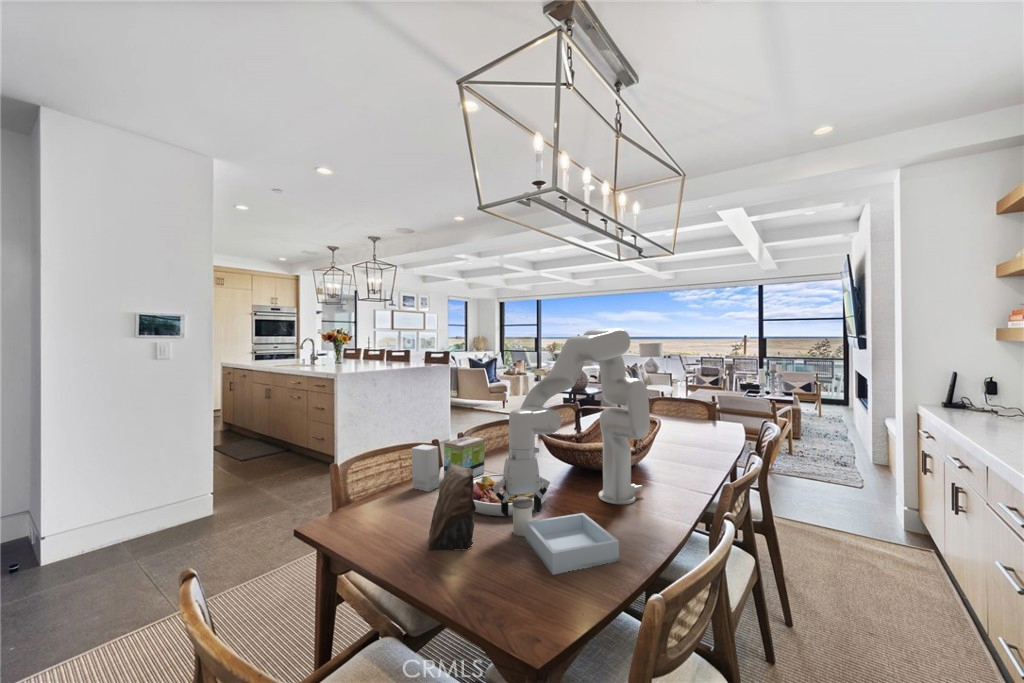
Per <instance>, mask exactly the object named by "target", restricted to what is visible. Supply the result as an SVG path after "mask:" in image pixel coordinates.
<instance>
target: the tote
mask: <svg viewBox="0 0 1024 683" xmlns="http://www.w3.org/2000/svg"><path fill="white" fill-rule="evenodd" d="M525 531H526V536H525V542H526V543H527V544H528V545H529V547H530V548H531V549H532V550H533V552H534V553H535V554H536V556H537V557H538V558H539V559H540V560H541V562H542V564H544V566H545V567H546V569H547V570H548V571H549V572H550V573H551V575H553V576H554V575H559V574H563V573H564V572H565V573H569V572H568V571H570V572H573V571H572V570H574V571H578V570H577V569H579V570H583V569H582V568H584V569H589V568H592V566H594V567H598V565H599V566H603V565H602V564H604V565H607V564H606V563H608V564H612V562H613V563H617V562H616V561H618V562H620V540H618V539H617V538H616V537H615V536H614V535H612V534H611V533H609V531H607V530H606V529H604V528H603V527H602V526H601V525H599V523H597V522H596V521H594V520H593V519H592V518H591V517H589V516H588V515H587V514H585V513H584V512H581V513H575V514H567V515H562V516H555V517H549V518H548V517H547V518H542V519H536V520H532V521H528V522H525ZM610 562H611V563H610ZM588 567H589V568H588Z"/></svg>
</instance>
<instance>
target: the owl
mask: <svg viewBox="0 0 1024 683" xmlns="http://www.w3.org/2000/svg"><path fill="white" fill-rule="evenodd" d="M473 478H474V477H473V470H472V469H471V468H465V467H460V466H457V465H456V464H454V463H449V466H448V469H447V471H446V474H445V477H444V476H443V479H442V482H441V485H440V487H439V492H438V497H437V500H436V504H435V507H434V510H433V514H432V517H431V518H432V519H431V523H430V529H429V531H428V541H427V542H428V549H427V551H428V552H429V551H430V552H431V551H456V550H455V549H462V550H461V551H464V550H463V549H467V550H469V549H468V548H470V547H472V546H471V545H472V544H473V545H474V541H473V537H474V536H473V535H474V530H475V520H474V518H475V517H474V515H475V510H476V506H475V503H474V498H473V486H474V485H473ZM472 541H473V542H472ZM472 548H473V547H472Z"/></svg>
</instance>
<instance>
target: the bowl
mask: <svg viewBox="0 0 1024 683" xmlns="http://www.w3.org/2000/svg"><path fill="white" fill-rule="evenodd" d="M501 480H503V473H495V474H493V473H492V474H486V475H481V476H480V475H479V476H476V477H473V485H474V486H473V498H474V503H475V506H476V510H475V512H476V513H478V514H481V515H487V516H491V515H492V517H505V516H504V514H503V513H502V512H501V500H500V499H499V498H498V497H497V496H496V495H495V493H494V491H493V489H492V486H493V485H495V484H497V483H498V482H500V481H501ZM542 486H543V483H541V482H540V488H541V487H542ZM540 488H539V490H540ZM499 492H500V494H502V493H503V492H504V490H503V487H501V488H500V489H499ZM534 495H535V493H530V494H521V495H511V496H510V497H509V499H508V500H507V502H508V517H513V505H512V500H513V499H514V498H517V497H528V498H531V499H532V500H533V505H532V511H535V510H534ZM547 495H548V490H547V491H546V493H545V494H544V495H543V498H542V499H541V505H542V504H543V503H544V502H545V500H546V498H547ZM475 512H474V513H475Z"/></svg>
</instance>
